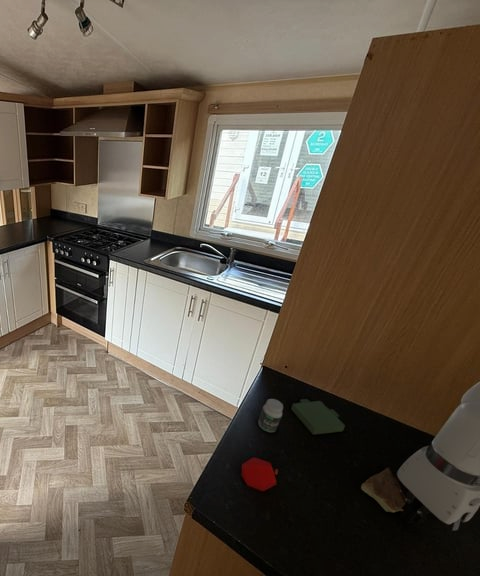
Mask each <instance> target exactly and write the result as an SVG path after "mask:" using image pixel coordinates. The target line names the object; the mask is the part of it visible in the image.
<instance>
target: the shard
mask: <svg viewBox="0 0 480 576" xmlns="http://www.w3.org/2000/svg"><path fill="white" fill-rule="evenodd" d="M360 490H361V491H363V492H364V493H365V494H367V495H368V496H369V497H371V498H372V499H373V500H375V501H376V502H377V503H378V504H379V506H380V507H381V508H382V509H383V510H384V511H385V512H387V513H388V512H389V513H396V512H403V509H402V507H403V506H404V505H405V504H406V500H405V497H406V495H405V494H404V492H403V490H402V488H401V486H400V483H399V481H398V479H397V478H396V476H395V475H394V473H393V470H392V468H391V467H390V466H388V467H387V468H385V469H384V470H383V471H380V472H379V473H376V474H374V475H372V476H370V477H369V478H368V479H366V481H365V482H363V483H362V484H361V485H360Z"/></svg>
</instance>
